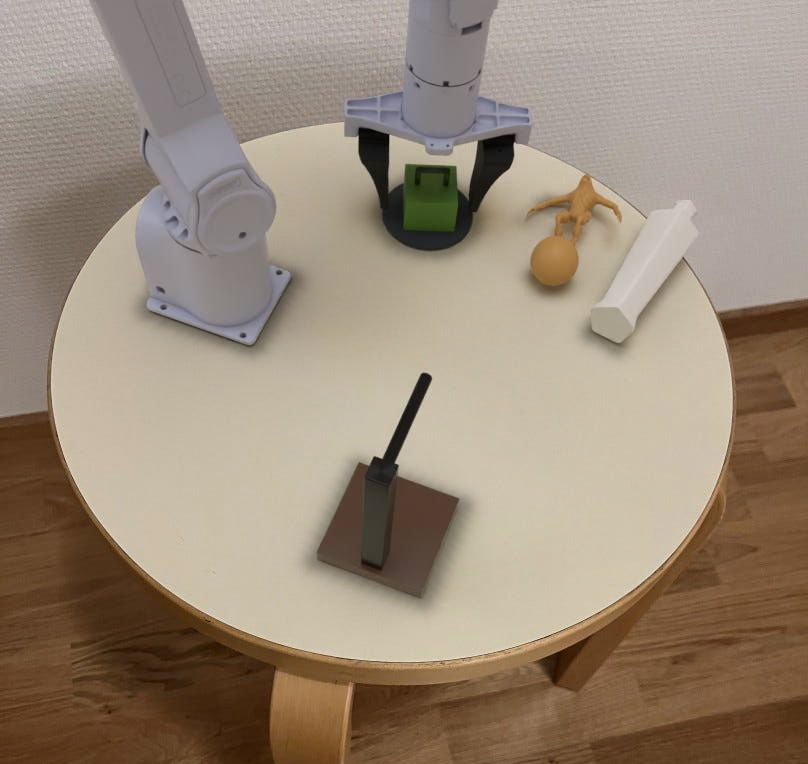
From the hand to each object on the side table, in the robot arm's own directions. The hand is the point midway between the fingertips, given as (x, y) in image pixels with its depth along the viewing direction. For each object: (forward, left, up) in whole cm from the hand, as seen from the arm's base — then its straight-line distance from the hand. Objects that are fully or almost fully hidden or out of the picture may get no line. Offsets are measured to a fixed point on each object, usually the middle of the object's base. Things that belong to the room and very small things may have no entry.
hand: (428, 202), depth 78 cm
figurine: (+13, -4, -1) cm, 13 cm away
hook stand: (+8, -30, -2) cm, 31 cm away
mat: (0, 0, -2) cm, 2 cm away
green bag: (0, 0, -1) cm, 1 cm away
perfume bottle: (+18, -7, 0) cm, 20 cm away
